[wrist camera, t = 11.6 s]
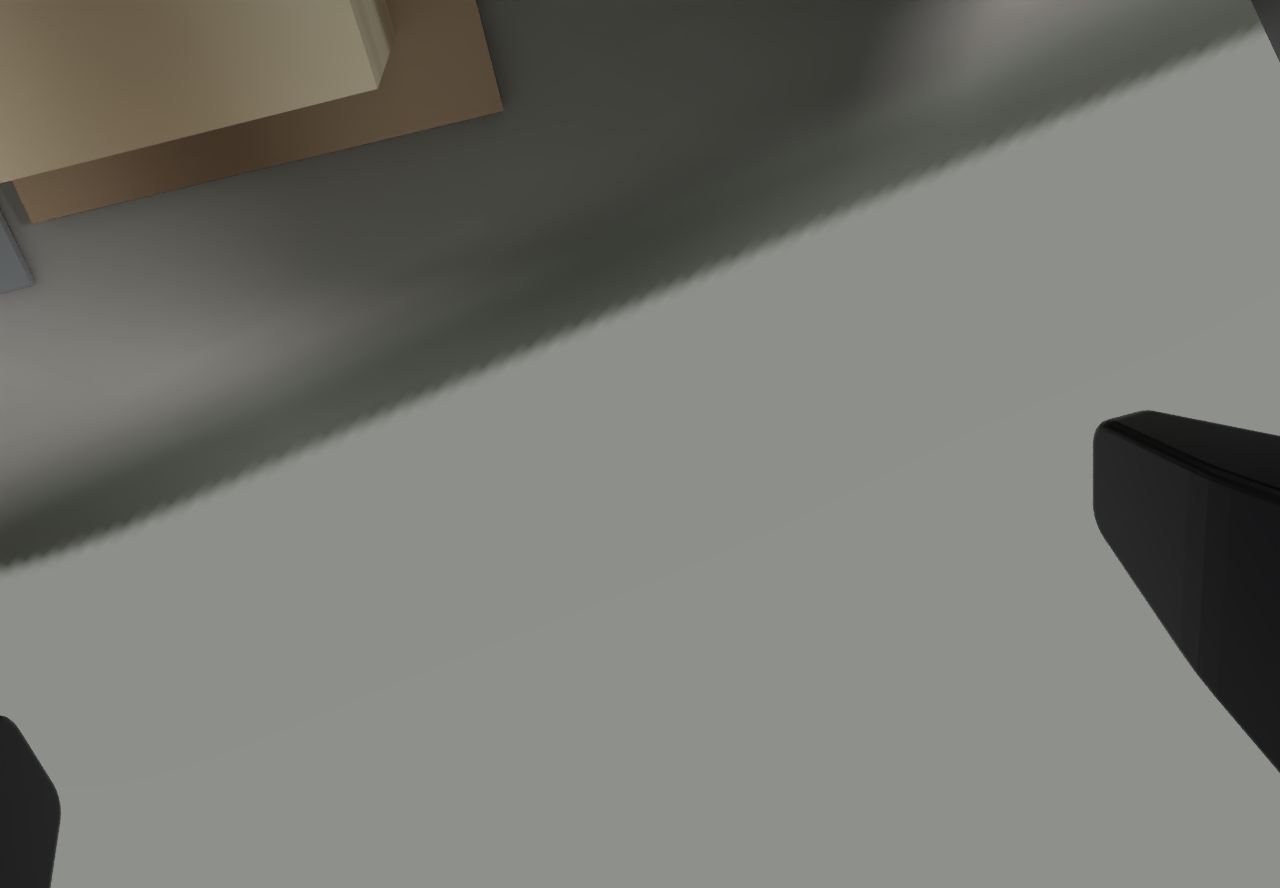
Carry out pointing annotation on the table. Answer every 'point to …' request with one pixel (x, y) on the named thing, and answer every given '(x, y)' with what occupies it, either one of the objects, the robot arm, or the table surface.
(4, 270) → the tile
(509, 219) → the table surface
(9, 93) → the birch block
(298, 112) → the pad
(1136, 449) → the robot arm
